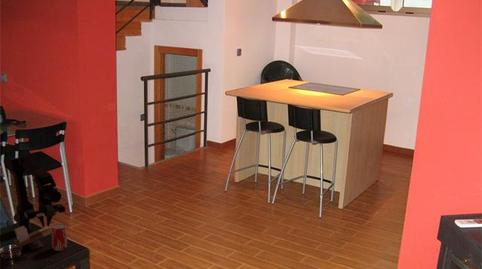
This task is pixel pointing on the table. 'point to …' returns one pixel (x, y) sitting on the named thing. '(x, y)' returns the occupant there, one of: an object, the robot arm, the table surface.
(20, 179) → the robot arm
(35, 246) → the fulcrum
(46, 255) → the table surface
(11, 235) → the table surface
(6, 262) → the table surface
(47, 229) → the beam
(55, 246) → the soda can
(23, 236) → the rider
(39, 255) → the table surface
